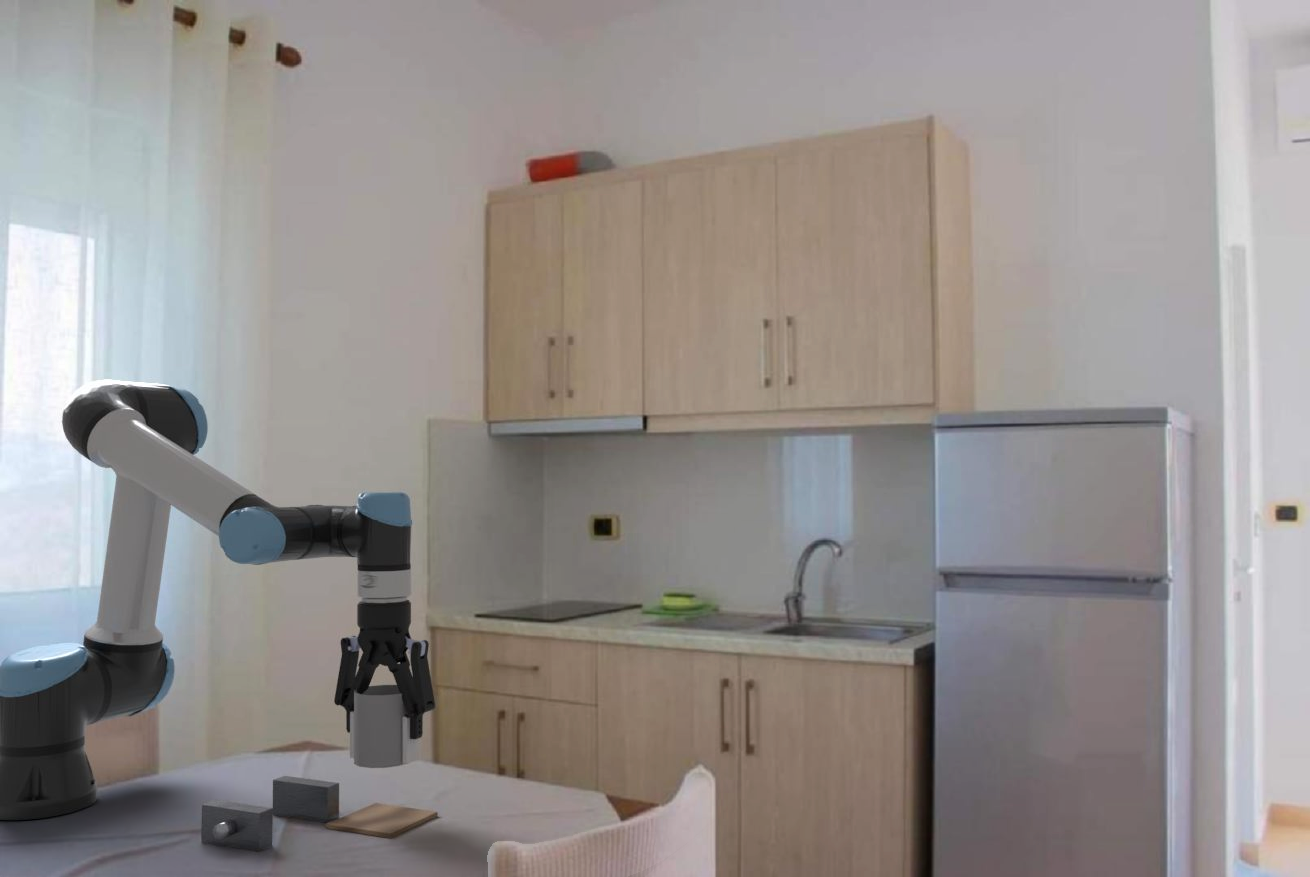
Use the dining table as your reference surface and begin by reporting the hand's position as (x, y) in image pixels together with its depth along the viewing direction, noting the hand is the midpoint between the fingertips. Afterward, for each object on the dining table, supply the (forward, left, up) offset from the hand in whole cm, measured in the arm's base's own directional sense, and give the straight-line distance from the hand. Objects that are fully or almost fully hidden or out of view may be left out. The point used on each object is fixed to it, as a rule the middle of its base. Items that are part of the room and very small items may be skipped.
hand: (383, 758), depth 161 cm
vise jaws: (-12, -9, -9) cm, 18 cm away
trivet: (0, 0, -9) cm, 9 cm away
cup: (0, 0, 0) cm, 0 cm away
